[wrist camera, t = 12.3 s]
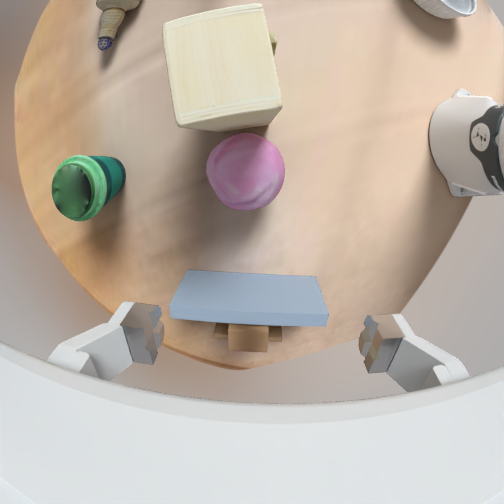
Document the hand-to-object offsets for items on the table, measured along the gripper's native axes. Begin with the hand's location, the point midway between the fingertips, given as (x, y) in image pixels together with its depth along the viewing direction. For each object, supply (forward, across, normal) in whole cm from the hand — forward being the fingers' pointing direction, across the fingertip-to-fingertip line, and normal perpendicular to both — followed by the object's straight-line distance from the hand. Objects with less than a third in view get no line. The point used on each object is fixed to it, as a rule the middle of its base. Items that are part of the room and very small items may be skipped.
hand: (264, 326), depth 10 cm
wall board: (+29, +1, +17) cm, 34 cm away
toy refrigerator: (+29, +3, -12) cm, 32 cm away
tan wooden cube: (+25, +1, +17) cm, 30 cm away
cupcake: (+29, +2, -3) cm, 30 cm away
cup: (+29, +22, -2) cm, 37 cm away
